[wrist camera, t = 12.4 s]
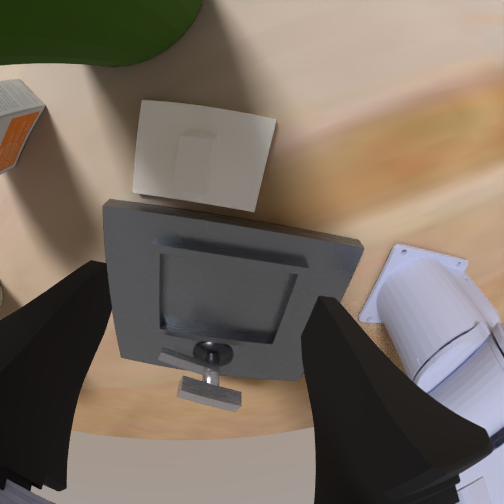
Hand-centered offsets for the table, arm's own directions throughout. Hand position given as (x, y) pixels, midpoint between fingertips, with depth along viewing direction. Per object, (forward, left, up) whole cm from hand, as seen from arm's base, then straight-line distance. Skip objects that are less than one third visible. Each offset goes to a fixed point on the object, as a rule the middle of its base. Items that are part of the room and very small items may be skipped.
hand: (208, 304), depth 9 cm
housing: (-1, +9, -10) cm, 14 cm away
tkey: (0, +14, -9) cm, 16 cm away
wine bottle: (+8, -12, -11) cm, 18 cm away
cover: (+2, -2, -11) cm, 11 cm away
